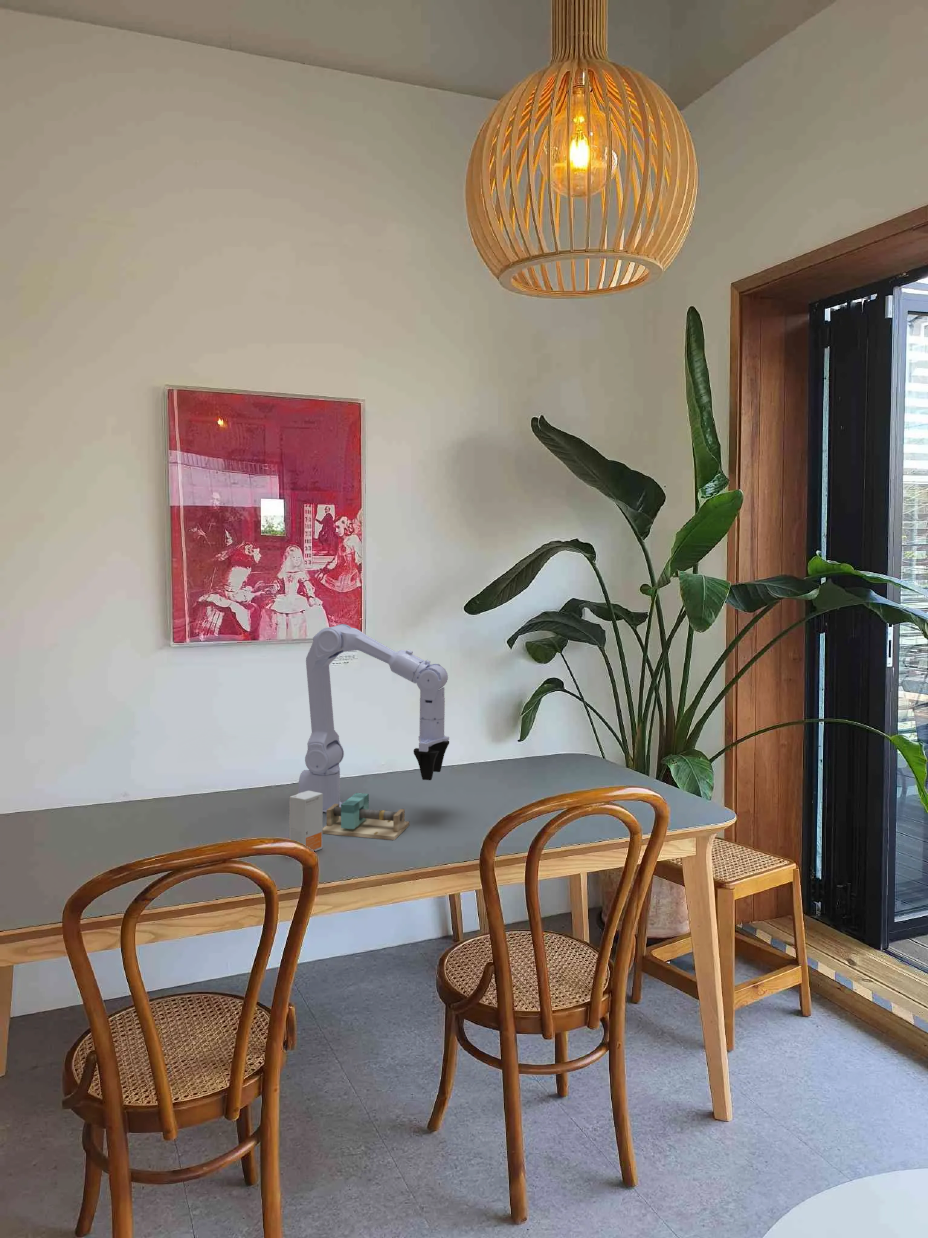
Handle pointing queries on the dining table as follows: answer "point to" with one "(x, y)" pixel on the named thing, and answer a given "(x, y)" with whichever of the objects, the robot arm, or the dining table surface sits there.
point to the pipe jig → (368, 823)
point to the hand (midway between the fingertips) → (431, 775)
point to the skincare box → (306, 818)
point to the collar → (353, 810)
